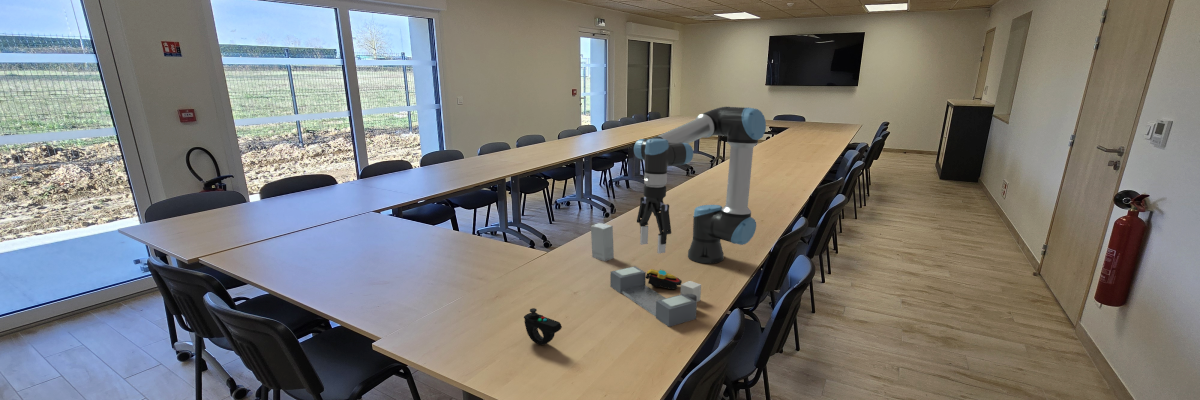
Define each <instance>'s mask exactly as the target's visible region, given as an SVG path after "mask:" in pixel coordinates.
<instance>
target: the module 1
mask: <svg viewBox="0 0 1200 400" xmlns="http://www.w3.org/2000/svg"><path fill="white" fill-rule="evenodd" d="M646 275H647V272H646V271H645V270H643V269H641V268H639V267H638V266H635V265H634V266H629V267H625V268H620V269H616V270H612V271H610V278H609V279H610V284H609V285H610V288H612V289H613V290H615V291H616V292H617V293H619V294H622V293H621V290H624V289H628V288H632V287H636V286H640V285H646Z"/></svg>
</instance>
